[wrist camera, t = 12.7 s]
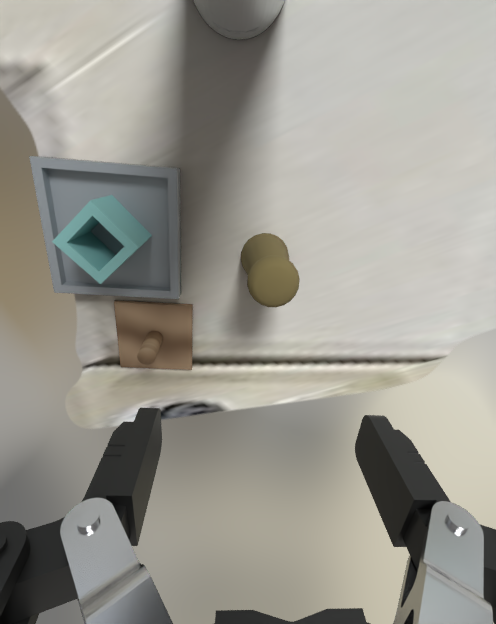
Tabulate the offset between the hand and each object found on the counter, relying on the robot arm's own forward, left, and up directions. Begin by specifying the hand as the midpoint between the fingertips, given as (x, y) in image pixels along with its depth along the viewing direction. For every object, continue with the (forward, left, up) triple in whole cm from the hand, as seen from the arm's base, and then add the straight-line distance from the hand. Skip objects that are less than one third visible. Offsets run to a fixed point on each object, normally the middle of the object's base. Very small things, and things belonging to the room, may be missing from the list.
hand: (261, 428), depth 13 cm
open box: (-1, -15, -29) cm, 33 cm away
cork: (+1, +3, -30) cm, 30 cm away
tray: (-1, -15, -30) cm, 34 cm away
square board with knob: (+13, -11, -30) cm, 35 cm away
